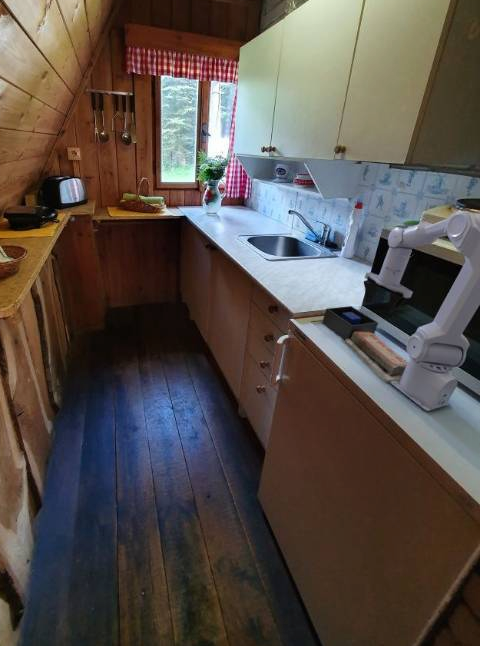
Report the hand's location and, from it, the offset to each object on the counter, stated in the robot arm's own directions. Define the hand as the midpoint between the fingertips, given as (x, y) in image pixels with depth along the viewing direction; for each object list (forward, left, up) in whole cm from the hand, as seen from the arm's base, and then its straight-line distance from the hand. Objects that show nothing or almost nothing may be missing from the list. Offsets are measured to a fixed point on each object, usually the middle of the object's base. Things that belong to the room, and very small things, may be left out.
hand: (378, 307), depth 97 cm
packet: (+3, +7, -9) cm, 11 cm away
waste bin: (+3, +7, -9) cm, 12 cm away
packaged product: (-12, +10, -10) cm, 19 cm away
